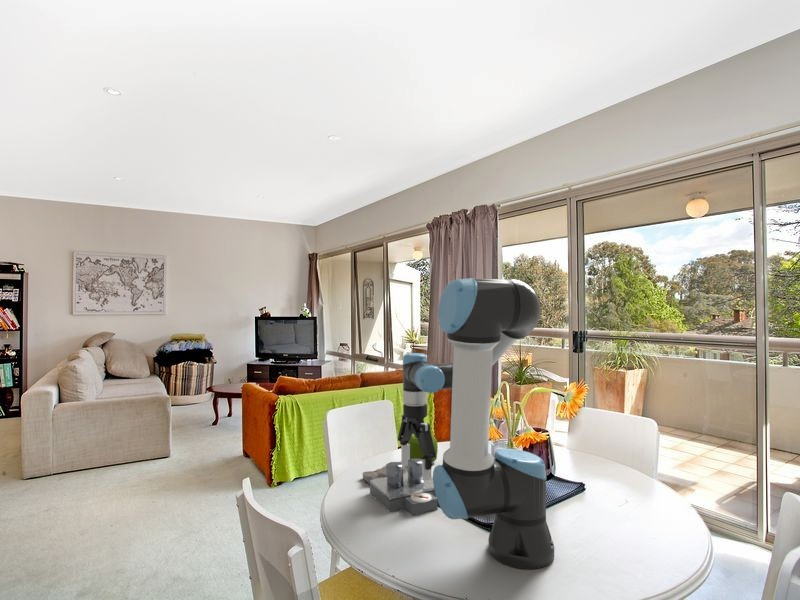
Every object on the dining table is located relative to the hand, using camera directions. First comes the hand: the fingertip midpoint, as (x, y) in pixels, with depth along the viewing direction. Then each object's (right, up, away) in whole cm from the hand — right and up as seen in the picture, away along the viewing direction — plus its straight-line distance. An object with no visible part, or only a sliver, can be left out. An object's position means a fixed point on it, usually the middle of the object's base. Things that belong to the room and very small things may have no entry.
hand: (415, 472), depth 141 cm
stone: (-10, -7, +12) cm, 18 cm away
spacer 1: (-6, -3, -3) cm, 8 cm away
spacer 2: (0, -3, 0) cm, 3 cm away
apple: (+4, -7, +28) cm, 29 cm away
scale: (-2, -7, -4) cm, 8 cm away
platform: (-3, -3, -2) cm, 5 cm away
